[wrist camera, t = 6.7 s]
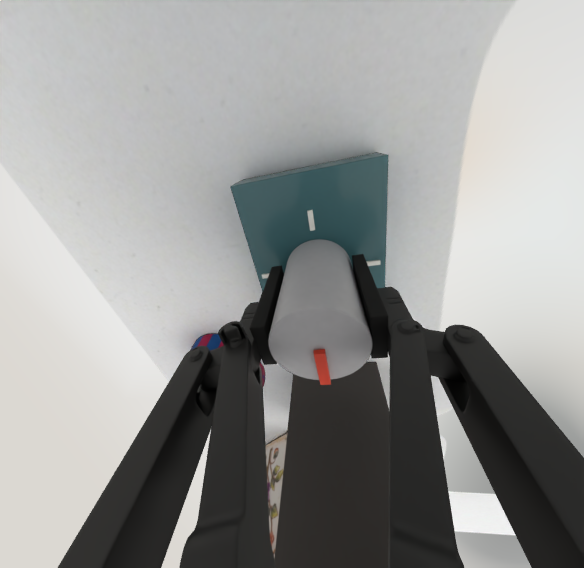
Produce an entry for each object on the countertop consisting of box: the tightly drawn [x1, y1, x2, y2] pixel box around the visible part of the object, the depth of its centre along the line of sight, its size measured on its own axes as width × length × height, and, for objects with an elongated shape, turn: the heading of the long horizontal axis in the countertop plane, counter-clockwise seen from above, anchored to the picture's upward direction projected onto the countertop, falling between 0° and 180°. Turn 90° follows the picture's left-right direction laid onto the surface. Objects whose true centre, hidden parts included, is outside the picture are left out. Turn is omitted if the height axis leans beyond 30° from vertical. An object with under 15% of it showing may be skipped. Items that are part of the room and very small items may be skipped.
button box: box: [274, 362, 390, 568], centre depth 19 cm, size 12×10×28 cm
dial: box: [268, 239, 373, 385], centre depth 14 cm, size 5×5×8 cm
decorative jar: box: [265, 433, 287, 557], centre depth 34 cm, size 12×12×18 cm
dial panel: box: [231, 152, 388, 291], centre depth 19 cm, size 14×10×3 cm
